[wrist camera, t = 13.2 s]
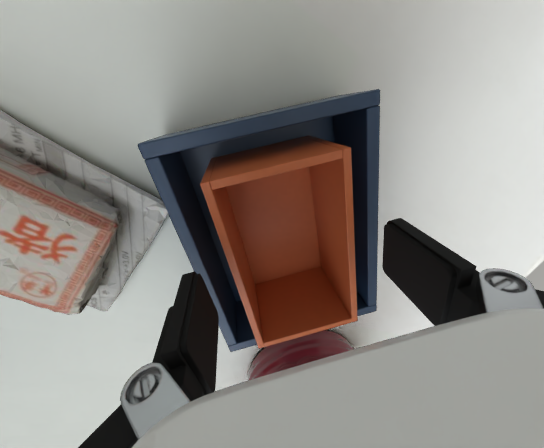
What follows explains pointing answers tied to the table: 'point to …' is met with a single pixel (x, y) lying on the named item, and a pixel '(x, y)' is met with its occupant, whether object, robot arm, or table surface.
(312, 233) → the small bin
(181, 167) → the large bin
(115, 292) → the packaged product
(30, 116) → the table surface
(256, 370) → the kitchen canister
